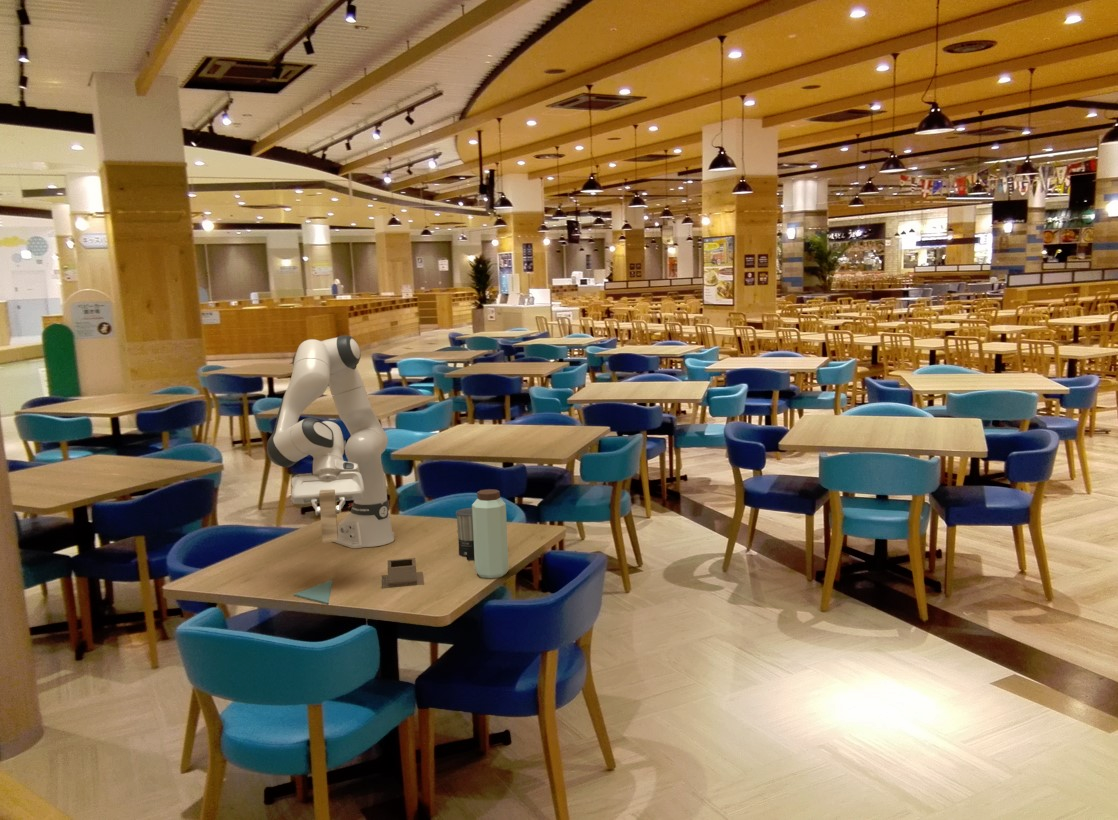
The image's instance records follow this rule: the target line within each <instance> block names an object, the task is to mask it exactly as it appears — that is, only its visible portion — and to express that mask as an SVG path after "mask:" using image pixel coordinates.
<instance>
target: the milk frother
mask: <svg viewBox="0 0 1118 820" xmlns="http://www.w3.org/2000/svg"><path fill="white" fill-rule="evenodd" d="M455 514H456V523H457V525H456V526H457V527H456V528H457V540H458V541H457V542H458V555H459V556H460V557H462V558H463V557H464V558H466V560H467V561H475V558H474V537H473V516H472V507H469V508H468V507H467V508H462V509H458V510H456V511H455Z"/></svg>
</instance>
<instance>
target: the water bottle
mask: <svg viewBox="0 0 1118 820" xmlns="http://www.w3.org/2000/svg"><path fill="white" fill-rule="evenodd" d="M476 496H477V498H476V499H475V501H473V503H472V504H471V508H472V516H473V537H474V558H475V560H474V571H475V572H476V574H477V575H478V576H479V577H480V578H482V579H490V578H491V579H497V578H501V577H503V576H505V575H506V574H507V572H508V571H509V568H510V567H509V547H508V546H509V545H508V526H507V525H508V524H507V521H508V520H507V503H506V502H504V500H503V498H501V493H500V490H498V489H491V488H488V489H480V490H479V491H477V492H476Z"/></svg>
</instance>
